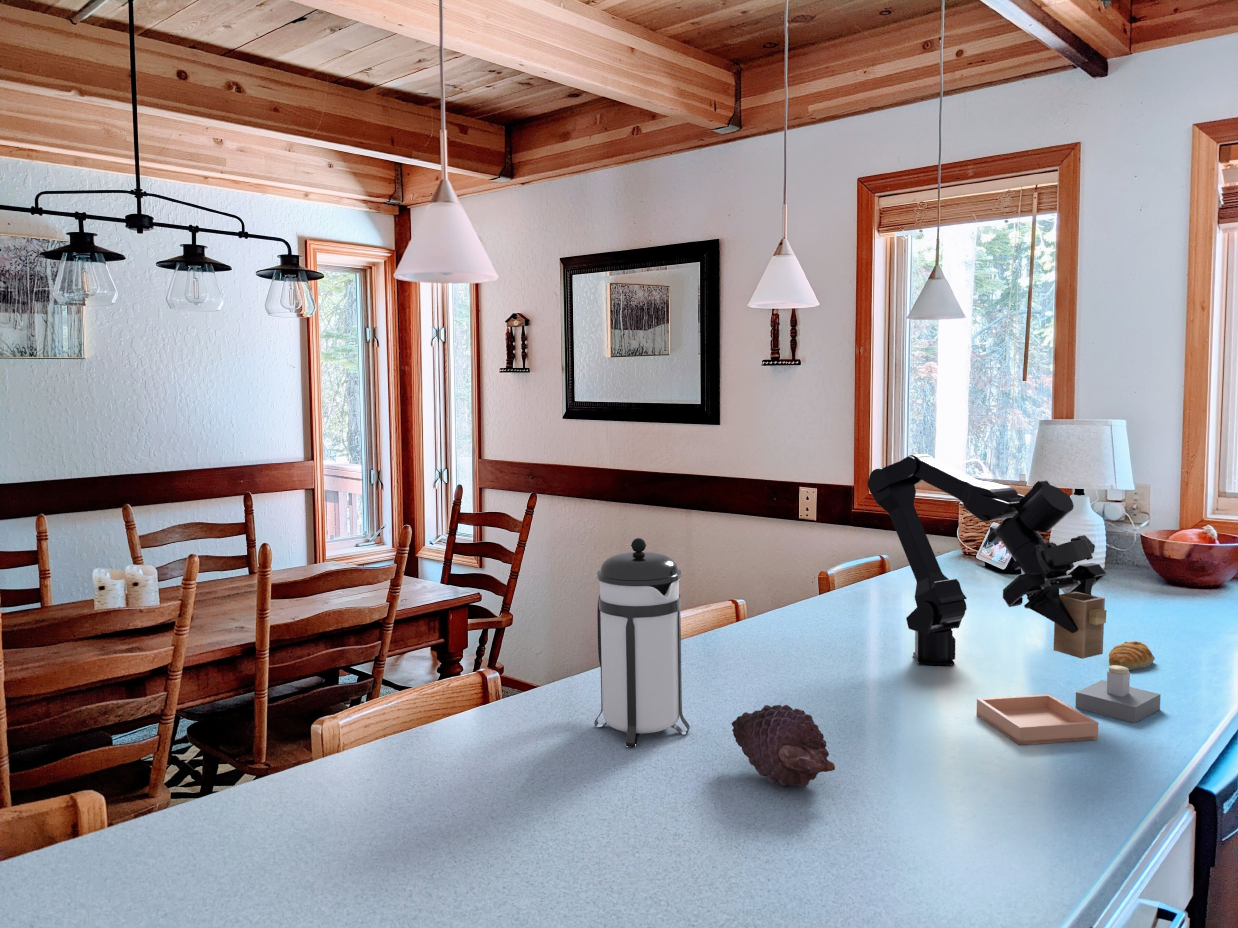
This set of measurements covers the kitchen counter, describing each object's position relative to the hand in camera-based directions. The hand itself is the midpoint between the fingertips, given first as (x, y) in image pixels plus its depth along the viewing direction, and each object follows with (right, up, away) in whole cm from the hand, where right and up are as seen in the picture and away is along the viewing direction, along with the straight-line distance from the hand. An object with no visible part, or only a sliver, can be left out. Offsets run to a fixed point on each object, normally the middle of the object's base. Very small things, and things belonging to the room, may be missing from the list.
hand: (1086, 629), depth 140 cm
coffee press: (-71, -15, -2) cm, 73 cm away
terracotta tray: (-10, -14, -4) cm, 18 cm away
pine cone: (-52, -16, -21) cm, 58 cm away
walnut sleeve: (-1, -4, +2) cm, 4 cm away
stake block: (+6, -13, +3) cm, 15 cm away
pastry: (+21, -11, +25) cm, 35 cm away
